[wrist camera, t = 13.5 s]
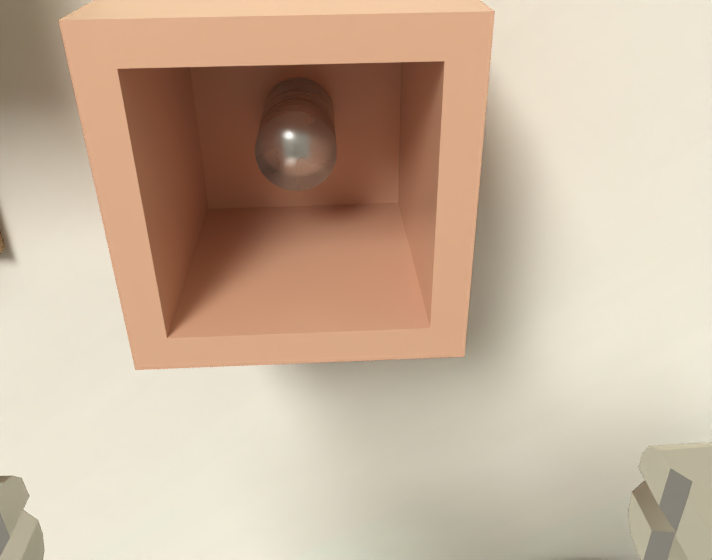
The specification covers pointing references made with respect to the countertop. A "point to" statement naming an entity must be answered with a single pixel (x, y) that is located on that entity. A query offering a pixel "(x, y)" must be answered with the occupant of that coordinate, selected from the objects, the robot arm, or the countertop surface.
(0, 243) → the lid
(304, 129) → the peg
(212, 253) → the planter
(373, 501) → the countertop surface
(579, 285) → the countertop surface
